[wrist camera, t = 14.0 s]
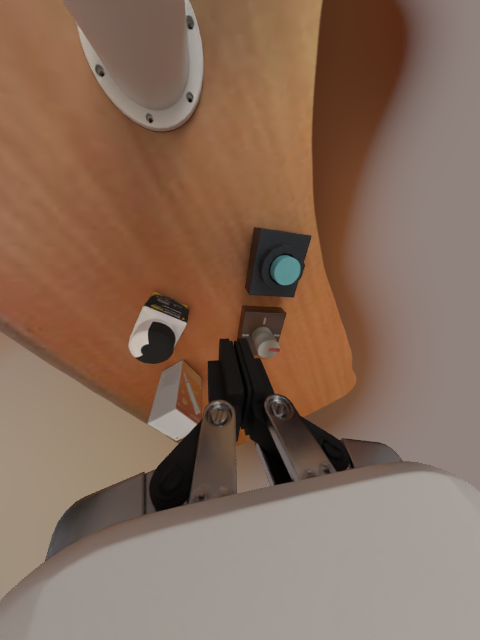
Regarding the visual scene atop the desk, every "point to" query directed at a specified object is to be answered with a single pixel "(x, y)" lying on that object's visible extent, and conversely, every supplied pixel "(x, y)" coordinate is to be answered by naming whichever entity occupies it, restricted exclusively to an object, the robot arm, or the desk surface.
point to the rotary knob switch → (260, 322)
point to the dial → (265, 342)
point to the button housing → (265, 252)
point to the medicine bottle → (158, 329)
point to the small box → (177, 401)
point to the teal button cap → (285, 270)
